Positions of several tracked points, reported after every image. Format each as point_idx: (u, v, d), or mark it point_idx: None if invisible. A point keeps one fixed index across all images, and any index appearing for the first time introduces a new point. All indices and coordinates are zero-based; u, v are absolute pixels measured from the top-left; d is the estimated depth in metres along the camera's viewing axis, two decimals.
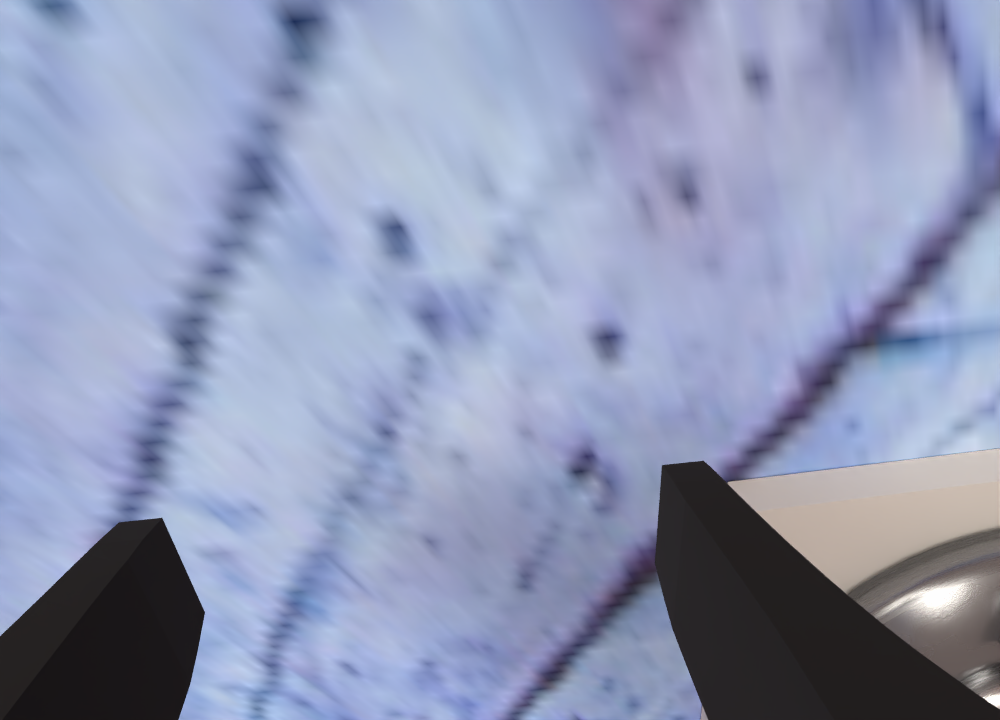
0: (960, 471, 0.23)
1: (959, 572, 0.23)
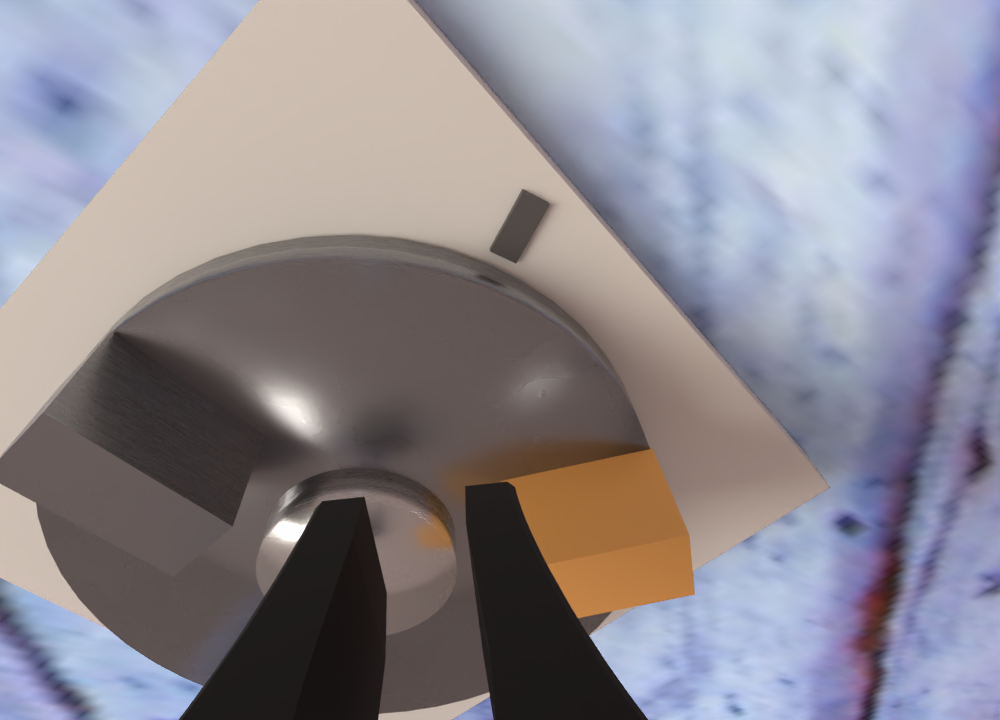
0: None
1: None
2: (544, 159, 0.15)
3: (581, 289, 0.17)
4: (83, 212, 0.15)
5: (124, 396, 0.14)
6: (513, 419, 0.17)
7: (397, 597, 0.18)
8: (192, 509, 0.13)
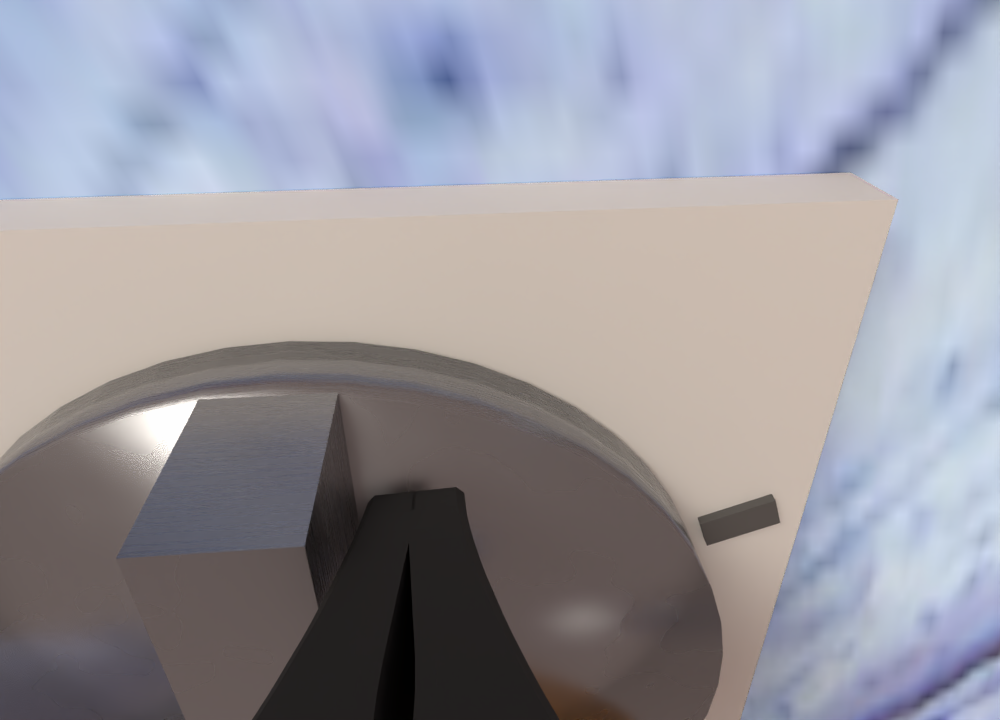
0: (127, 212, 0.11)
1: (83, 421, 0.10)
2: (810, 485, 0.14)
3: (721, 590, 0.16)
4: (387, 219, 0.11)
5: (334, 514, 0.09)
6: (603, 691, 0.14)
7: None
8: None
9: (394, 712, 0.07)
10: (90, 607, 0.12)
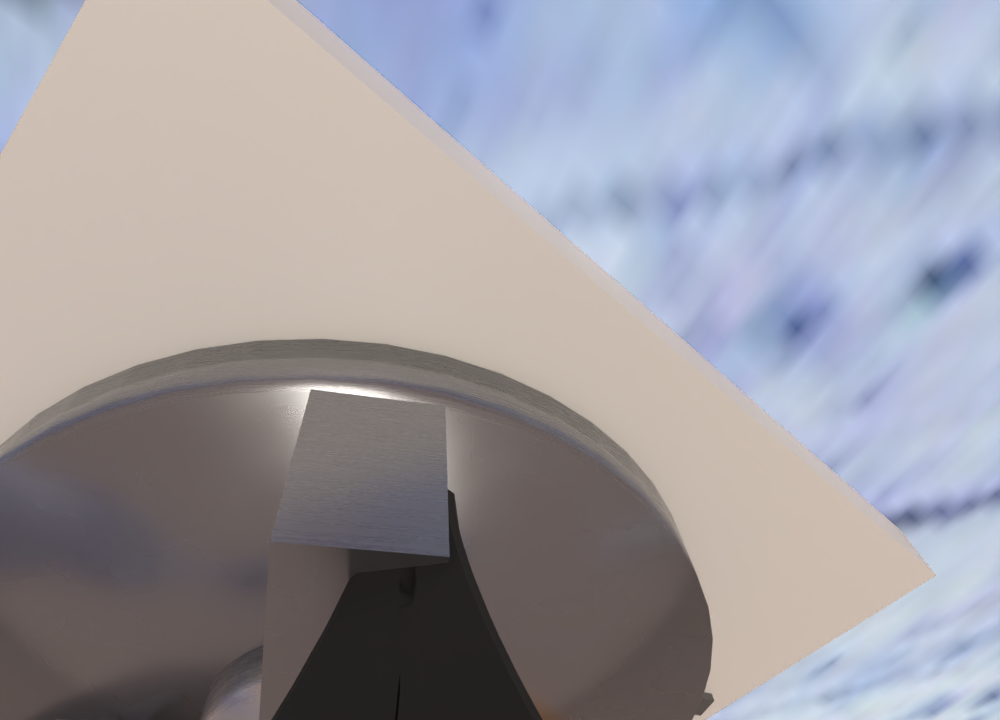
0: (573, 254, 0.12)
1: (178, 387, 0.10)
2: None
3: None
4: (728, 399, 0.13)
5: None
6: (586, 719, 0.15)
7: None
8: None
9: None
10: (121, 572, 0.12)
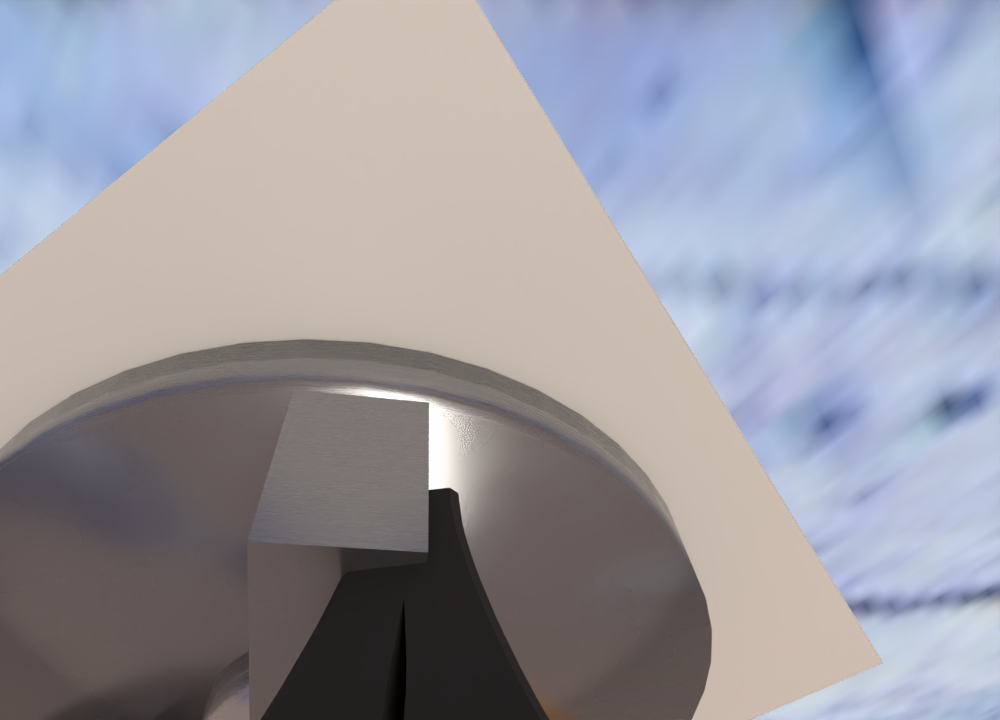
0: None
1: (163, 391, 0.10)
2: None
3: None
4: (768, 479, 0.14)
5: None
6: (588, 713, 0.15)
7: None
8: None
9: (402, 711, 0.07)
10: (117, 577, 0.12)
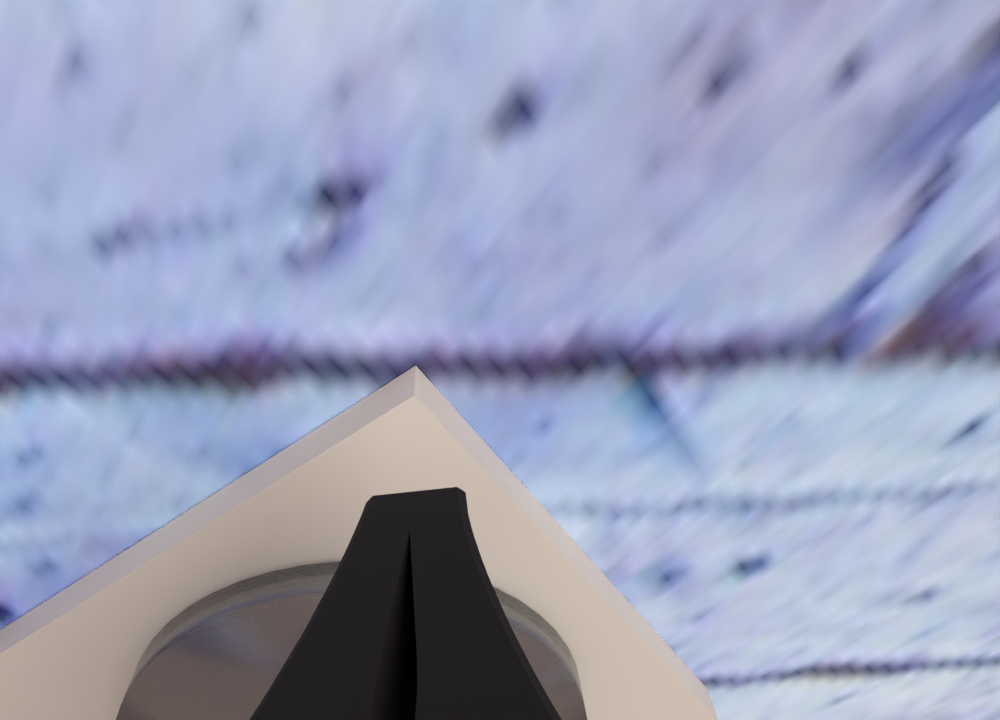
0: (559, 538, 0.22)
1: (264, 602, 0.20)
2: None
3: None
4: (622, 619, 0.24)
5: None
6: None
7: None
8: None
9: (392, 713, 0.07)
10: (238, 692, 0.21)
